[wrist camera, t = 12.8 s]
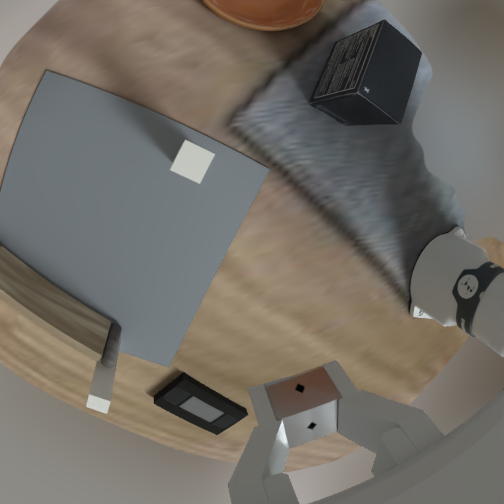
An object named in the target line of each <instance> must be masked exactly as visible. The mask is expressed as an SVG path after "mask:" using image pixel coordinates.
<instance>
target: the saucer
mask: <svg viewBox="0 0 504 504" xmlns="http://www.w3.org/2000/svg"><path fill="white" fill-rule="evenodd" d="M202 1H203V2H204V4H205V5H206V6H207V7H208V8H209V9H210V10H212V11H213V12H214V13H216V14H217V15H218V16H220V17H222V18H223V19H225V20H227V21H229V22H231V23H233V24H236V25H238V26H241V27H245V28H249V29H253V30H260V31H282V30H287V29H291V28H294V27H297V26H300V25H302V24H304V23H306V22H308V21H309V20H311V19H312V18H313V17H314V16H315V15H316V14H317V13H318V12H319V11H320V9H321V7H322V5H323V2H324V0H202Z"/></svg>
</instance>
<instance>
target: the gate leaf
mask: <svg viewBox="0 0 504 504" xmlns="http://www.w3.org/2000/svg"><path fill="white" fill-rule="evenodd" d="M0 299H2V300H3V301H4V302H6V303H7V304H8V305H10V306H11V307H12V308H14V309H15V310H16V311H18V312H19V313H20V314H22V315H23V316H25V317H26V318H27V319H29V320H30V321H32V322H33V323H35V324H36V325H38V326H39V327H41V328H42V329H44V330H45V331H47V332H48V333H50V334H51V335H53V336H54V337H56V338H58V339H59V340H61V341H62V342H64V343H66V344H67V345H69V346H71V347H72V348H74V349H76V350H78V351H79V352H81V353H83V354H85V355H86V356H88V357H90V358H92V359H94V360H95V361H97V362H98V361H99V359H100V358H101V356H102V359H101V364H102V365H103V366H104V367H106V368H112V367H114V365H115V359H116V354H117V349H118V344H119V340H120V335H121V330H122V328H121V326H120V325H119V324H117V323H113V324H111V321H110V320H108V319H106V318H105V317H103V316H101V315H100V314H98V313H96V312H95V311H93V310H91V309H90V308H88V307H87V306H85V305H83V304H82V303H80V302H79V301H77V300H76V299H74V298H73V297H71V296H69V295H68V294H66V293H65V292H63V291H62V290H60V289H59V288H58V287H56V286H55V285H53V284H52V283H50V282H49V281H47V280H46V279H45V278H43V277H42V276H40V275H39V274H38V273H36V272H35V271H34V270H32V269H31V268H30V267H28V266H27V265H26V264H24V263H23V262H22V261H20V260H19V259H18V258H16V257H15V256H14V255H13V254H11V253H10V252H9V251H8V250H6V249H5V248H4V247H3V246H2V244H1V243H0ZM110 324H111V325H110ZM109 327H110V329H109ZM108 331H109V332H108ZM107 334H108V336H107ZM106 338H107V340H106ZM105 342H106V343H105ZM104 345H105V347H104ZM103 349H104V351H103ZM102 353H103V355H102Z"/></svg>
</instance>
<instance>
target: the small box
mask: <svg viewBox="0 0 504 504" xmlns="http://www.w3.org/2000/svg"><path fill="white" fill-rule="evenodd" d="M421 55H422V52H421V51H420V50H419V49H418V48H417V47H416V46H415V45H414V44H413V43H412V42H410V41H409V40H408V39H407V38H406V37H405V36H404V35H402V34H401V33H400V32H399V31H398V30H397V29H395V28H394V27H393V26H392V25H391V24H389V23H388V22H387V21H386V20H382V21H380V22H378V23H376V24H374V25H372V26H370V27H368V28H366V29H363V30H361V31H359V32H357V33H355V34H352V35H350V36H348V37H346V38H344V39H341V40H339V41H337V42H335V45H334V47H333V49H332V51H331V53H330V56H329V58H328V60H327V63H326V65H325V67H324V69H323V72H322V74H321V76H320V78H319V81H318V83H317V85H316V88H315V90H314V93H313V95H312V97H311V100H310V102H309V103H310V105H311V106H313V107H315V108H318V109H319V110H321V111H323V112H325V113H326V114H328V115H330V116H331V117H333V118H335V119H336V120H337V121H339V122H341V123H343V124H345V125H346V126H349V125H373V124H401V121H402V118H403V115H404V112H405V109H406V106H407V103H408V99H409V96H410V93H411V90H412V86H413V83H414V80H415V76H416V73H417V69H418V66H419V62H420V59H421Z"/></svg>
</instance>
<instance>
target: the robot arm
mask: <svg viewBox="0 0 504 504" xmlns="http://www.w3.org/2000/svg"><path fill="white" fill-rule="evenodd" d="M410 290H411V297H412V303H411V308H410V314H411V315H412V316H414V317H419V318H430V319H434V320H435V321H437V322H438V323H440V324H441V325H443V326H454V325H458V327H459V328H461V329H462V330H463V331H464V332H465V333H467V334H469V335H471V336H472V337H478V338H479V339H480V340H481V341H483V342H484V343H485V344H487V345H488V346H489V347H490V348H492V349H493V350H494V351H496V352H497V353H498V354H499V355H500V356H502V357H504V269H503V268H502V267H501V266H499V265H496V264H494V263H492V262H489V260H488V255H487V254H486V250H485V249H483V248H481V247H480V246H478V245H476V244H474V243H472V242H470V241H468V240H467V238H466V236H465V234H464V232H463V230H462V228H460V227H458V226H457V227H455V228H454V229H452V230H451V231H450V232H449V233H447V234H442V235H440V236H438V237H436V238H434V239H433V240H432V241H431V242H430V243H429V244H428V245H427V246H426V247H425V249H424V250H423V252H422V253H421V255H420V257H419V259H418V260H417V263H416V265H415V268H414V270H413V274H412V278H411V286H410ZM248 389H249V394H250V398H251V401H252V404H253V408H254V411H255V414H256V418H257V421H258V424H259V426H257V427H254V429H253V432H252V434H251V436H250V438H249V441H248V443H247V445H246V447H245V449H244V452H243V454H242V456H241V458H240V460H239V462H238V464H237V467H236V469H235V471H234V473H233V475H232V477H231V479H230V481H229V483H228V488H229V492H230V498H231V503H232V504H299V502H298V500H297V497H296V494H295V492H294V489H293V487H292V484H291V482H290V479H289V476H288V475H287V474H283V470H284V467H285V464H286V460H287V457H288V453H289V449H290V448H293V447H296V446H298V445H301V444H304V443H307V442H309V441H312V440H315V439H318V438H321V437H324V436H327V435H329V434H332V433H335V432H338V433H339V434H341V435H343V436H345V437H346V438H348V439H350V440H352V441H354V442H355V443H357V444H359V445H361V446H363V447H365V448H367V449H368V450H370V451H372V452H374V453H376V454H377V455H376V458H375V461H374V464H373V467H372V473H373V475H374V477H373V478H371V479H369V480H367V481H365V482H363V483H361V484H358V485H356V486H354V487H351V488H349V489H346V490H344V491H342V492H339V493H337V494H334V495H332V496H329V497H326V498H323V499H321V500H318V501H315V502H312V503H309V504H504V389H503V390H502V391H501V392H500V393H499V394H497V395H496V396H495V397H494V398H493V399H492V400H491V401H490V402H488V403H487V404H486V405H485V406H484V407H482V408H481V409H480V410H479V411H478V412H476V413H475V414H474V415H473V416H472V417H470V418H469V419H468V420H466V421H465V422H464V423H462V424H461V425H460V426H458V427H457V428H456V429H454V430H453V431H451V432H450V433H449V434H447V435H446V436H444V434H443V433H442V432H441V431H440V430H439V428H438V427H437V426H436V425H435V424H434V423H433V421H432V420H431V419H430V418H429V417H428V415H427V414H426V413H425V412H424V411H423V410H421V409H418V408H415V407H411V406H408V405H405V404H402V403H399V402H396V401H393V400H390V399H387V398H385V397H382V396H379V395H376V394H373V393H371V392H368V391H365V390H360V391H358V390H357V388H356V387H355V385H354V384H353V383H352V381H351V380H350V378H349V377H348V376H347V374H346V373H345V371H344V370H343V369H342V367H341V366H340V364H339V363H338V362H337V361H332V362H329V363H327V364H324V365H321V366H318V367H316V368H313V369H310V370H307V371H304V372H301V373H298V374H296V375H293V376H290V377H287V378H283V379H280V380H276V381H273V382H269V383H265V384H264V385H263V384H262V385H258V386H254V387H250V388H248Z"/></svg>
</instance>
